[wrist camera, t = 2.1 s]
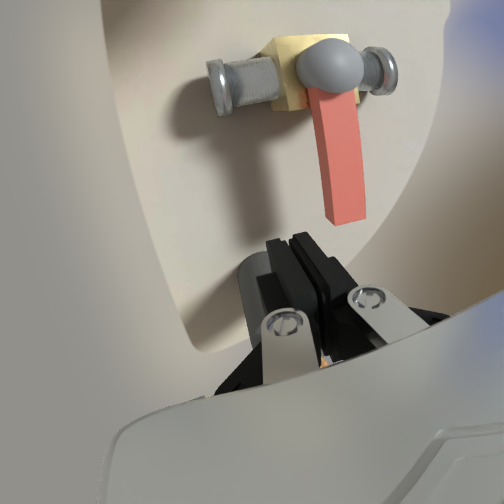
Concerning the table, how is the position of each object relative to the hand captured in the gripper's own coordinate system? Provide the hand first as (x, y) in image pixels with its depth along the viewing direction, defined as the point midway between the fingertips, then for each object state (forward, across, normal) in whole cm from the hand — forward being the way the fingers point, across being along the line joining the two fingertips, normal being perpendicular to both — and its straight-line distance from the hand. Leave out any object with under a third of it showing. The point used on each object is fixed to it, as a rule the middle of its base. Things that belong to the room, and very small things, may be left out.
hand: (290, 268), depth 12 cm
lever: (+11, -7, -4) cm, 14 cm away
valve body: (+18, -7, -9) cm, 21 cm away
